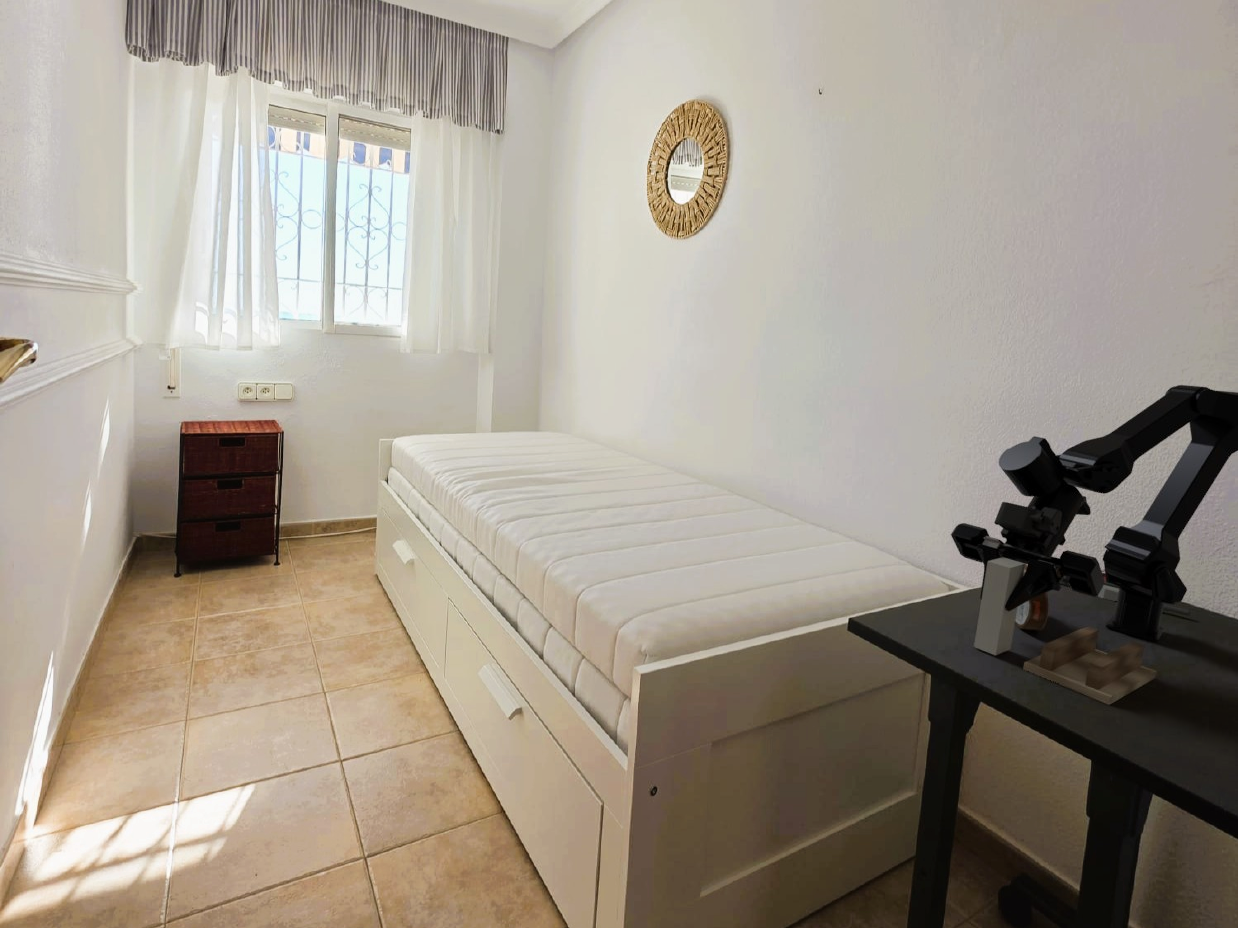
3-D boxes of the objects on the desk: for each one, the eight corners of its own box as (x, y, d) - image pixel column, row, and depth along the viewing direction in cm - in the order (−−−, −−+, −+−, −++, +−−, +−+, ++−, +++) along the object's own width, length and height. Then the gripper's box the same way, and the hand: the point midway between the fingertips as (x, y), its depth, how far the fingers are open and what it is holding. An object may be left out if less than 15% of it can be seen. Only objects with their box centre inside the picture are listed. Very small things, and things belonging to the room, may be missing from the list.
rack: (1071, 647, 99) (1076, 621, 98) (1154, 677, 91) (1160, 649, 90) (1023, 669, 91) (1028, 640, 90) (1109, 704, 83) (1115, 673, 82)
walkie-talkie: (1049, 586, 126) (1188, 623, 112) (1053, 563, 125) (1194, 597, 111) (1062, 577, 132) (1195, 610, 118) (1066, 555, 131) (1201, 586, 117)
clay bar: (988, 640, 99) (1002, 557, 96) (1010, 649, 96) (1025, 563, 94) (973, 646, 97) (987, 561, 94) (995, 655, 94) (1010, 567, 92)
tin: (1045, 640, 101) (1055, 585, 99) (1022, 637, 102) (1031, 582, 100) (1010, 602, 116) (1018, 554, 114) (990, 600, 116) (998, 552, 115)
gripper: (967, 469, 102) (913, 550, 98) (1111, 497, 87) (1054, 595, 83) (987, 515, 108) (937, 594, 104) (1125, 549, 93) (1073, 643, 88)
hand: (994, 604), depth 94 cm, fingers closed on clay bar, 3 cm apart
